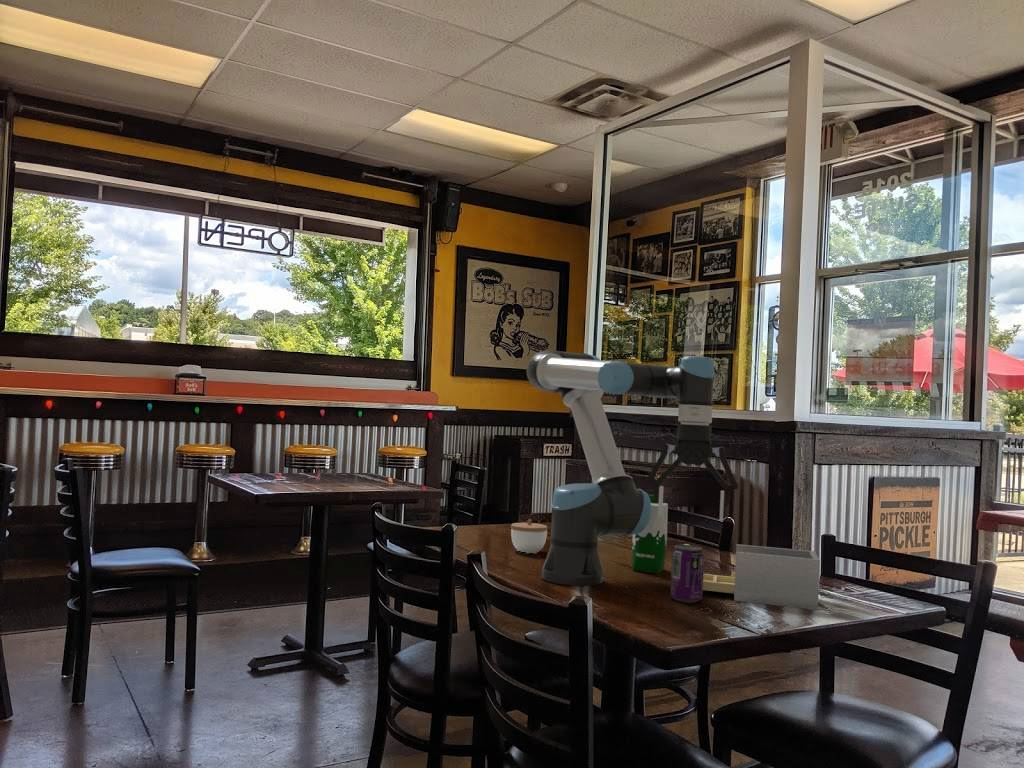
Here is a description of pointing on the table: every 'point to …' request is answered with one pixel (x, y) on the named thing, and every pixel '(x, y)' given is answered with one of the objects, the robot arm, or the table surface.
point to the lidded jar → (528, 536)
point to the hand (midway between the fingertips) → (690, 517)
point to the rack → (718, 583)
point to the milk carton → (651, 541)
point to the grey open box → (777, 576)
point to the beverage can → (687, 573)
